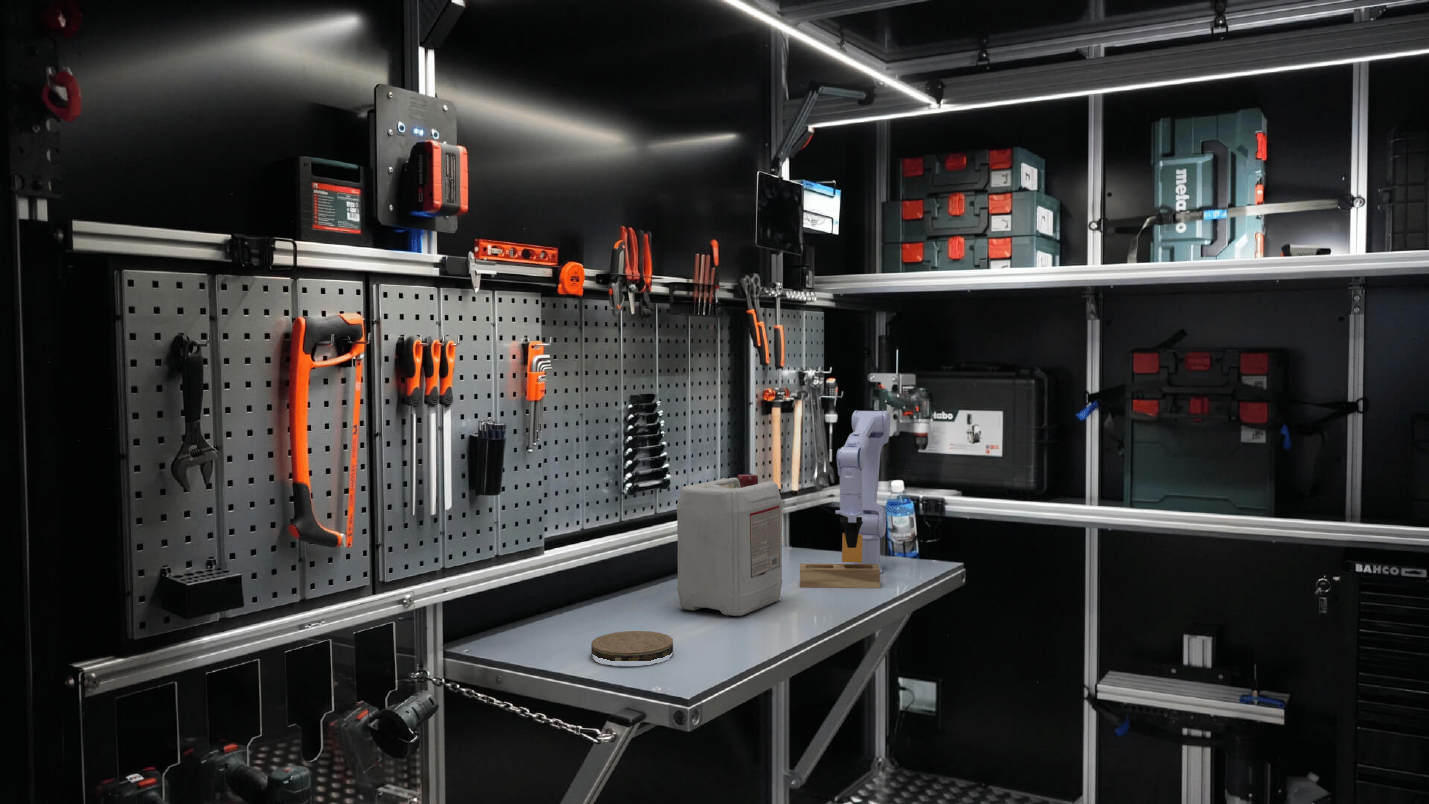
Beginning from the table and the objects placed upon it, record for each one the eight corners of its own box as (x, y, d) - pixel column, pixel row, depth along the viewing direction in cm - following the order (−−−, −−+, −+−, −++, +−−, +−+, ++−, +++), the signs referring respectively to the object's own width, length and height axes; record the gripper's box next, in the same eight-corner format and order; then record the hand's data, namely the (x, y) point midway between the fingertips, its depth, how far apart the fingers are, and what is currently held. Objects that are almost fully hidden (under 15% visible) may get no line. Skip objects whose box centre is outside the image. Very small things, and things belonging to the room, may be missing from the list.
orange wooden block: (841, 560, 261) (842, 533, 261) (861, 561, 260) (862, 533, 260) (842, 561, 259) (842, 534, 258) (861, 562, 258) (862, 535, 258)
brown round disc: (690, 655, 197) (690, 639, 197) (631, 674, 185) (630, 658, 185) (634, 641, 208) (633, 626, 208) (574, 658, 196) (574, 643, 196)
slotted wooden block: (800, 580, 263) (800, 563, 263) (877, 581, 262) (877, 563, 261) (800, 587, 255) (799, 569, 255) (880, 587, 254) (879, 570, 254)
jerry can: (722, 591, 252) (720, 471, 251) (789, 599, 242) (788, 474, 242) (669, 611, 232) (667, 481, 231) (740, 621, 222) (738, 485, 221)
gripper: (834, 490, 267) (835, 541, 267) (835, 497, 252) (836, 551, 253) (861, 490, 266) (862, 541, 266) (864, 497, 251) (864, 551, 252)
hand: (851, 546), depth 259 cm, fingers closed on orange wooden block, 2 cm apart
